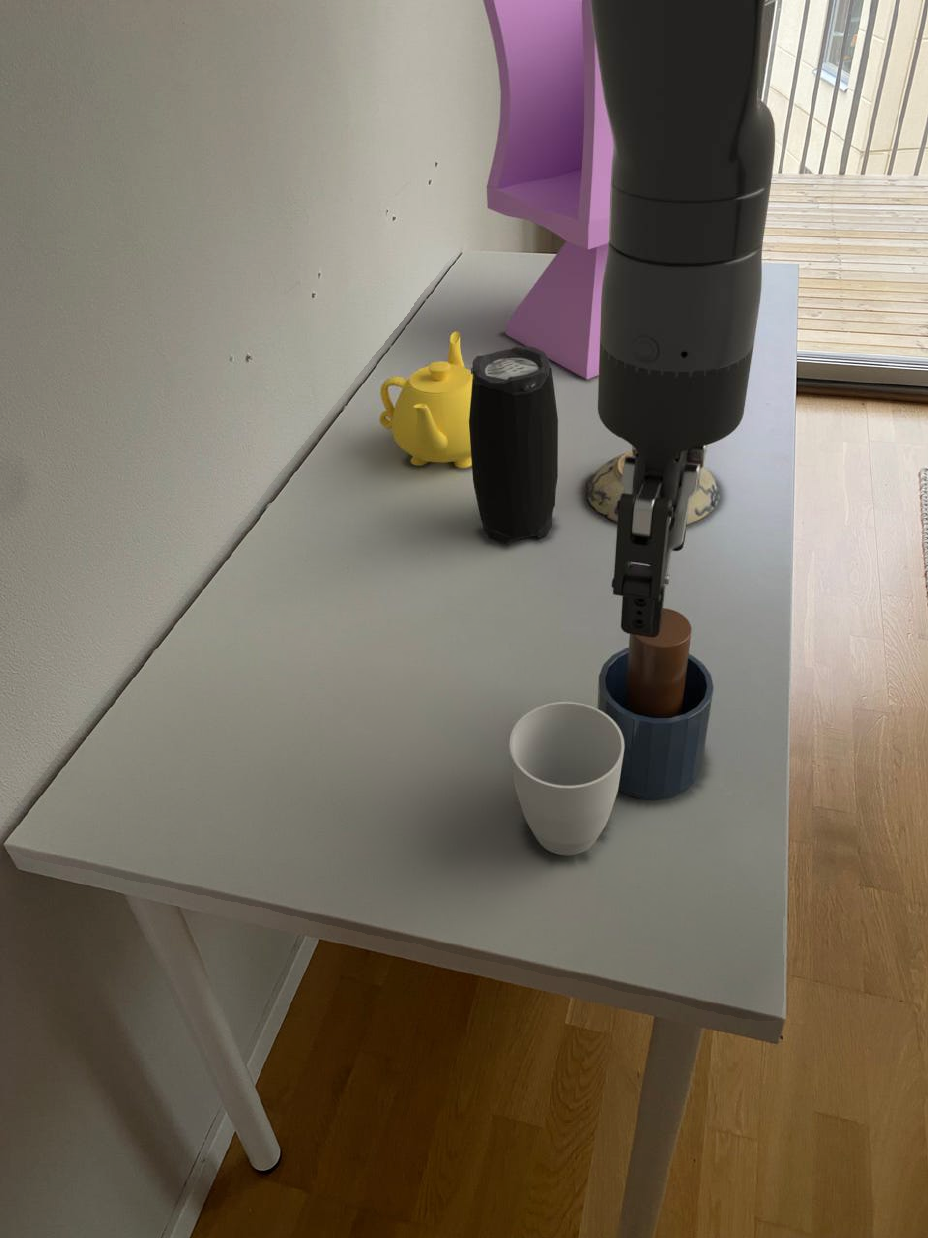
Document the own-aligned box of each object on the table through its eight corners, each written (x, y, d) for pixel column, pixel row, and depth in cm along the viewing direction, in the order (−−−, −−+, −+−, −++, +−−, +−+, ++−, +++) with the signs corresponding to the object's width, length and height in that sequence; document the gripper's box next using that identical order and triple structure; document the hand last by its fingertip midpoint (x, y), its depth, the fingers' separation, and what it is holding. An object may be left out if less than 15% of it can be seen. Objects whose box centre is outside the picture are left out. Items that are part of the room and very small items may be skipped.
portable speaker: (461, 534, 104) (447, 370, 91) (511, 495, 109) (504, 334, 97) (524, 559, 100) (518, 390, 87) (573, 517, 105) (574, 352, 92)
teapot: (403, 408, 127) (394, 327, 120) (511, 413, 124) (508, 330, 117) (360, 489, 112) (346, 402, 105) (481, 497, 109) (475, 408, 102)
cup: (639, 823, 73) (647, 737, 67) (575, 892, 69) (576, 807, 62) (557, 772, 77) (557, 686, 71) (492, 833, 73) (486, 748, 67)
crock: (719, 749, 78) (733, 671, 72) (668, 817, 73) (677, 740, 67) (630, 706, 83) (636, 630, 77) (575, 767, 78) (577, 691, 72)
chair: (493, 333, 143) (477, -19, 114) (607, 295, 152) (619, -43, 123) (585, 386, 129) (593, -4, 99) (705, 340, 137) (746, -32, 108)
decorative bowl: (718, 461, 112) (592, 454, 115) (722, 434, 110) (593, 428, 112) (720, 535, 101) (580, 526, 104) (724, 507, 99) (581, 498, 101)
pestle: (685, 749, 78) (702, 621, 69) (658, 783, 75) (672, 655, 66) (639, 726, 80) (649, 600, 71) (611, 758, 77) (618, 631, 68)
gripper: (737, 407, 40) (699, 677, 51) (768, 282, 50) (731, 529, 61) (567, 390, 42) (564, 652, 53) (629, 273, 53) (617, 513, 63)
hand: (654, 586), depth 57 cm, fingers open, 8 cm apart
